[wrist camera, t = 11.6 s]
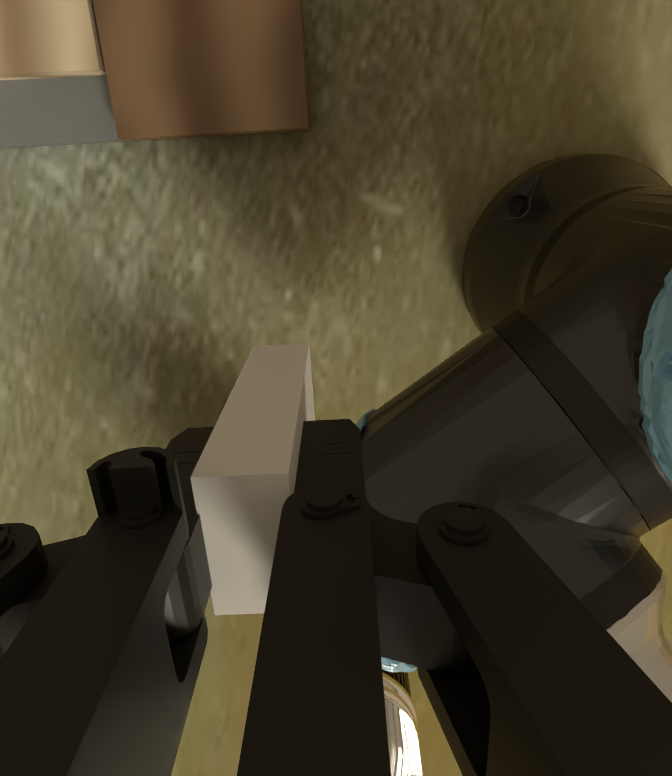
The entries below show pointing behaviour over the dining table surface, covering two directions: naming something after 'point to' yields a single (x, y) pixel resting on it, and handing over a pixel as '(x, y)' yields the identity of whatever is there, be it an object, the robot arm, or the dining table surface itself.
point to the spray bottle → (401, 725)
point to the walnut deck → (204, 67)
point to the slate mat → (56, 112)
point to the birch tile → (49, 39)
